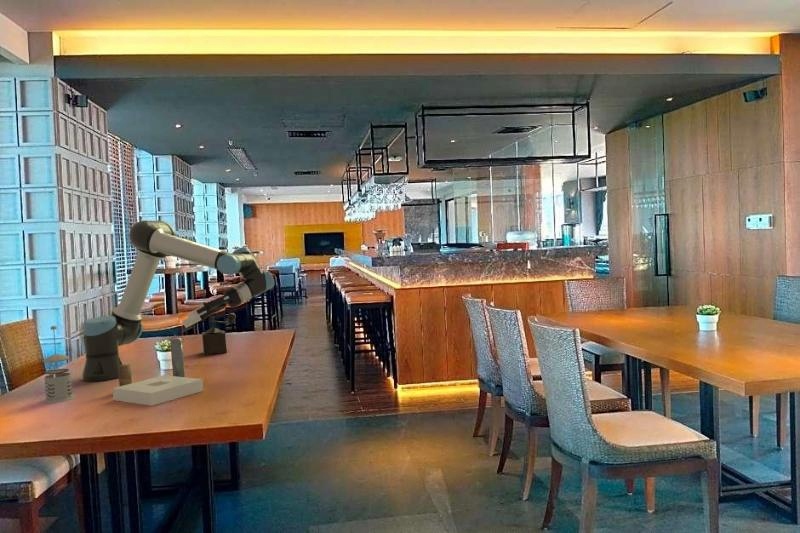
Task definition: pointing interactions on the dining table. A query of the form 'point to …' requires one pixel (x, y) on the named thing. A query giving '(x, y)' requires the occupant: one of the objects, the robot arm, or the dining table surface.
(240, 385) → the dining table surface
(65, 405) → the dining table surface
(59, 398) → the french press
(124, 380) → the walnut pin
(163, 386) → the hole plate
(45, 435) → the dining table surface
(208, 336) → the dark block
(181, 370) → the metal pin
